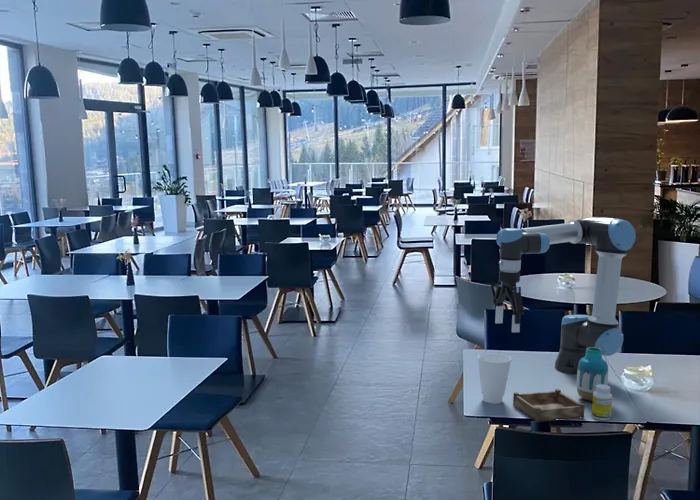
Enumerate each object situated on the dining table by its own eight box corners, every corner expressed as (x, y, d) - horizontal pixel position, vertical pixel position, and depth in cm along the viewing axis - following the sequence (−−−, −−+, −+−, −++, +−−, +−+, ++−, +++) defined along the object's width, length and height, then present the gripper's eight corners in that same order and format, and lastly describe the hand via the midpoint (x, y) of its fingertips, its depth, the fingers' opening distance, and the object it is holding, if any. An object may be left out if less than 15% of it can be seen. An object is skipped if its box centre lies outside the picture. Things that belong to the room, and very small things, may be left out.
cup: (502, 408, 233) (504, 364, 231) (470, 401, 240) (472, 358, 238) (513, 398, 243) (515, 356, 241) (482, 392, 250) (484, 351, 248)
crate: (557, 401, 242) (558, 389, 241) (583, 417, 226) (584, 404, 226) (513, 405, 237) (513, 392, 236) (536, 422, 222) (537, 408, 221)
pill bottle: (594, 412, 231) (596, 382, 230) (612, 416, 228) (615, 385, 226) (589, 418, 226) (591, 386, 225) (608, 422, 223) (610, 390, 221)
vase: (570, 394, 249) (574, 345, 246) (598, 394, 250) (601, 344, 247) (583, 405, 238) (586, 353, 236) (611, 404, 239) (615, 353, 237)
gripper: (485, 265, 254) (483, 319, 257) (516, 276, 230) (513, 336, 233) (503, 265, 256) (501, 319, 259) (536, 276, 232) (532, 335, 235)
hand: (506, 327), depth 246 cm, fingers open, 13 cm apart
